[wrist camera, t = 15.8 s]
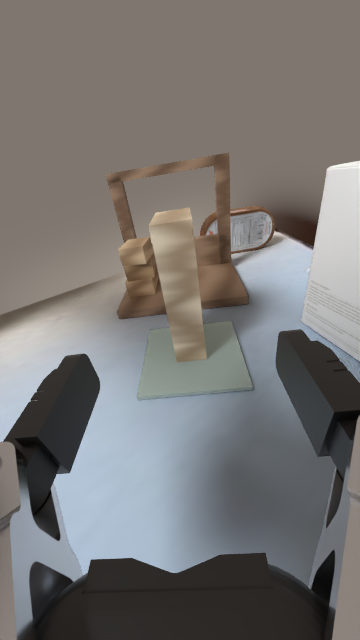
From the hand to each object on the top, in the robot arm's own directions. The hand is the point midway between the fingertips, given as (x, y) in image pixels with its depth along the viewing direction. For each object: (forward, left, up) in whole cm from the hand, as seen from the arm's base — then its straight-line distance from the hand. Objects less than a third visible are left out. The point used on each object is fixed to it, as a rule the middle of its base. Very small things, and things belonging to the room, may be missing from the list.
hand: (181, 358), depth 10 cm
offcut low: (-7, +27, -8) cm, 29 cm away
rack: (-1, +27, -10) cm, 28 cm away
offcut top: (-7, +27, -4) cm, 28 cm away
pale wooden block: (0, +12, -9) cm, 15 cm away
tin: (+11, +42, -10) cm, 44 cm away
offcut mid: (-7, +27, -6) cm, 29 cm away
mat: (0, +11, -10) cm, 14 cm away
